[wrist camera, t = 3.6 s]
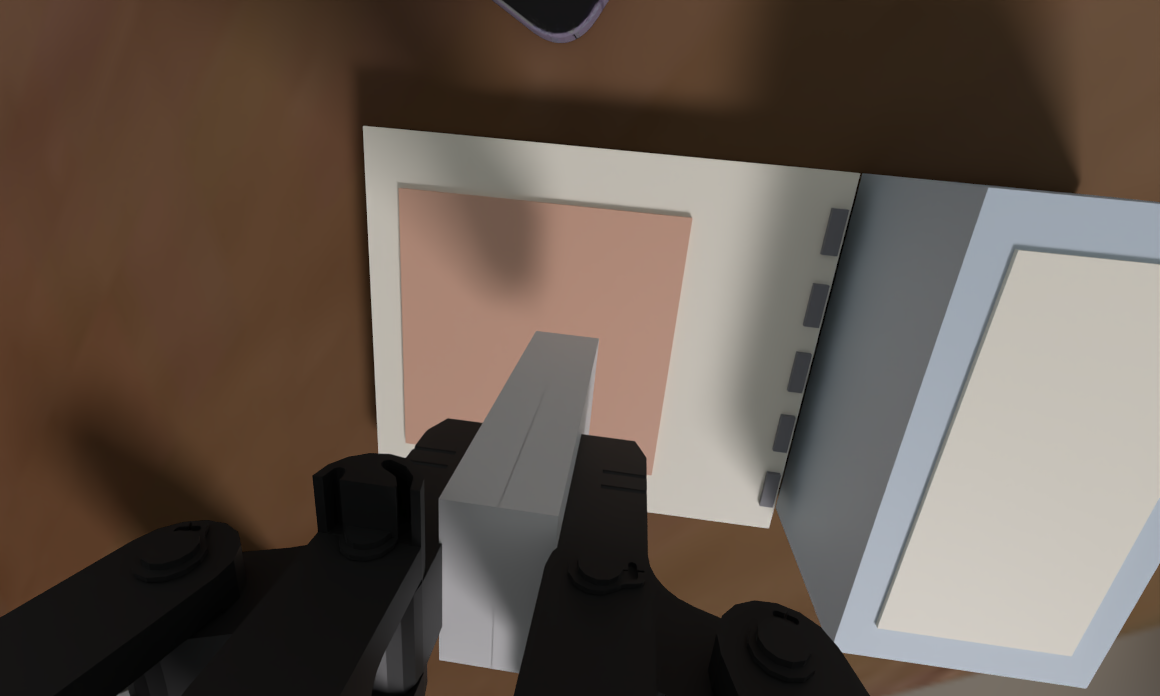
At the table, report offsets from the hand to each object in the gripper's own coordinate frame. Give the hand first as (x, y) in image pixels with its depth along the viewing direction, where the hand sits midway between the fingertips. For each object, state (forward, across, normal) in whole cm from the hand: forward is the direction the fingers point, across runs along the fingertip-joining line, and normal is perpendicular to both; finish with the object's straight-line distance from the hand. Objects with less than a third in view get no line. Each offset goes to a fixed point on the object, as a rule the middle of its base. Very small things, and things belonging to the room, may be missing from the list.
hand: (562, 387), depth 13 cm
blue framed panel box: (+4, +10, 0) cm, 11 cm away
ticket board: (+5, 0, 0) cm, 5 cm away
